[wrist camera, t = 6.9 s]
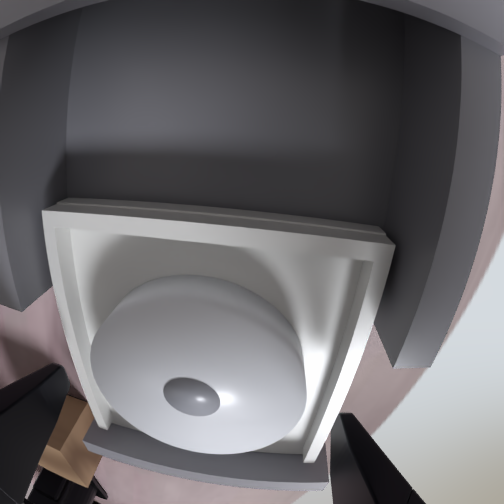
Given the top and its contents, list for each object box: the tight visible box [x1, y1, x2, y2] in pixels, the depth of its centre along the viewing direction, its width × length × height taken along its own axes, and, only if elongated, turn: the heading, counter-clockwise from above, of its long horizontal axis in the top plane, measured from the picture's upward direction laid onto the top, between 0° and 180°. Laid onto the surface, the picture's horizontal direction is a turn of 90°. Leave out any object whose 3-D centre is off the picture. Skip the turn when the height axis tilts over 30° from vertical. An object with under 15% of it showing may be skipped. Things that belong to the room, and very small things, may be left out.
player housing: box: [0, 0, 504, 368], centre depth 6 cm, size 14×13×5 cm
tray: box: [42, 198, 396, 491], centre depth 10 cm, size 12×12×3 cm
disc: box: [90, 274, 307, 454], centre depth 9 cm, size 7×7×2 cm
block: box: [38, 395, 102, 488], centre depth 14 cm, size 5×5×4 cm
